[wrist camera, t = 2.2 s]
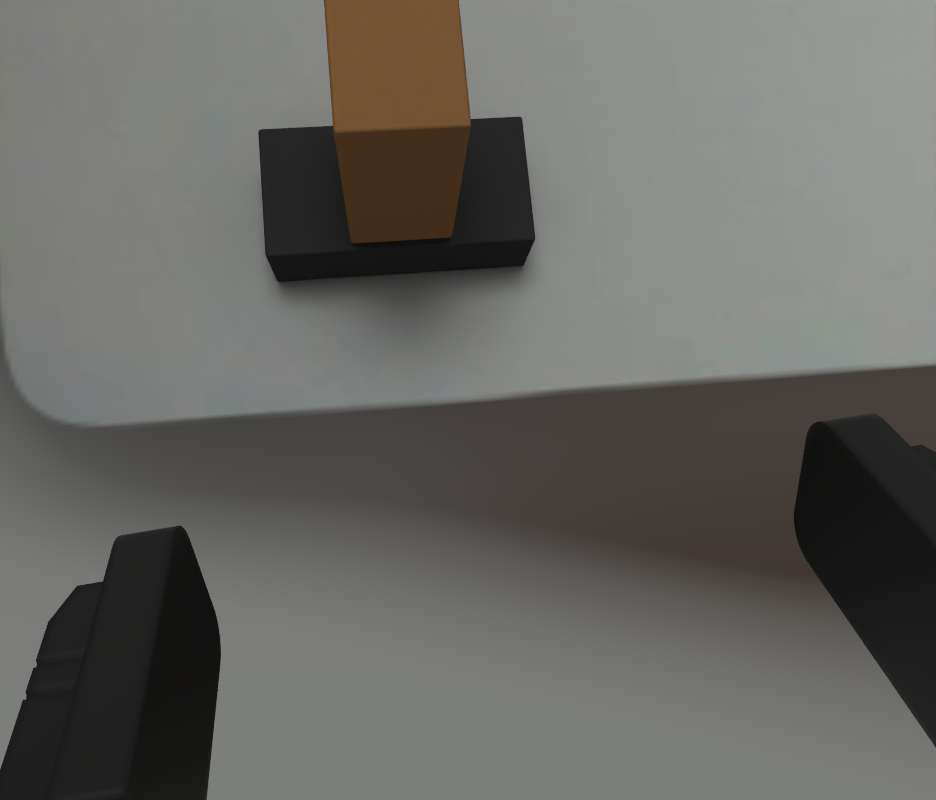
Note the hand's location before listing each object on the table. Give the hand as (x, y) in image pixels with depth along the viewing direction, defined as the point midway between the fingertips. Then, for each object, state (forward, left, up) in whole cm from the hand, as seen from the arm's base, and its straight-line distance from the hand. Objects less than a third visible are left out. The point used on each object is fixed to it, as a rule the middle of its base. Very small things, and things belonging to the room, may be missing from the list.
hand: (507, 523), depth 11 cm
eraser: (-1, +11, -16) cm, 19 cm away
